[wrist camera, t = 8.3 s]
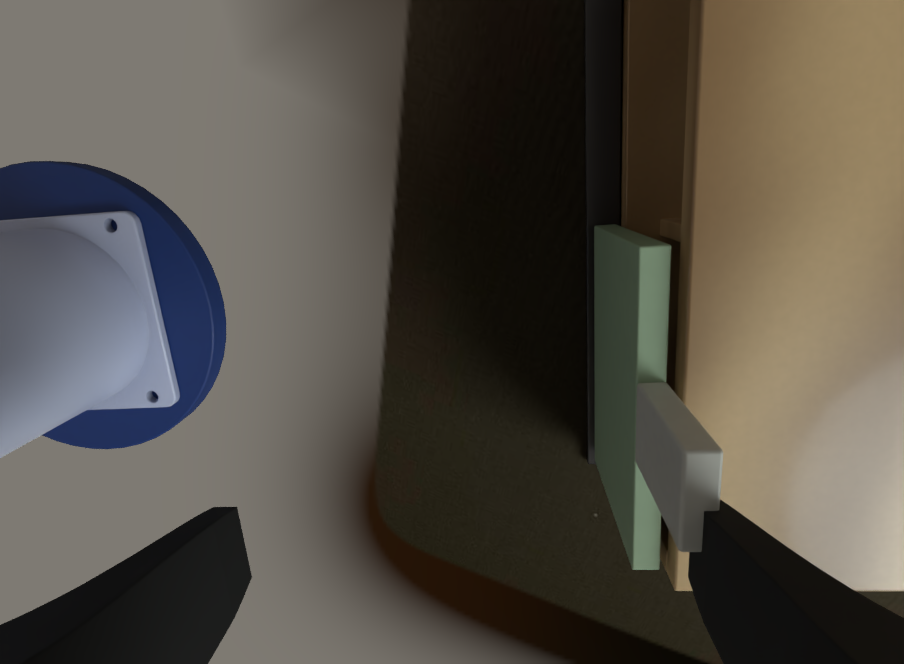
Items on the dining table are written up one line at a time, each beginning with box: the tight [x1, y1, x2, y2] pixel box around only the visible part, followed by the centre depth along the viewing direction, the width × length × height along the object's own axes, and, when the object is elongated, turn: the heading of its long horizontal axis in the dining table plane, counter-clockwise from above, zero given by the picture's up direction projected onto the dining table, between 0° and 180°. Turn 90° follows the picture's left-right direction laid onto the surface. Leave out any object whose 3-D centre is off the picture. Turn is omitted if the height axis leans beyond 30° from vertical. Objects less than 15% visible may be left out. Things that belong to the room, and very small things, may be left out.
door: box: [594, 224, 723, 570], centre depth 16 cm, size 1×10×10 cm, turn 5°
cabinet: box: [584, 0, 904, 591], centre depth 16 cm, size 13×20×8 cm, turn 4°
